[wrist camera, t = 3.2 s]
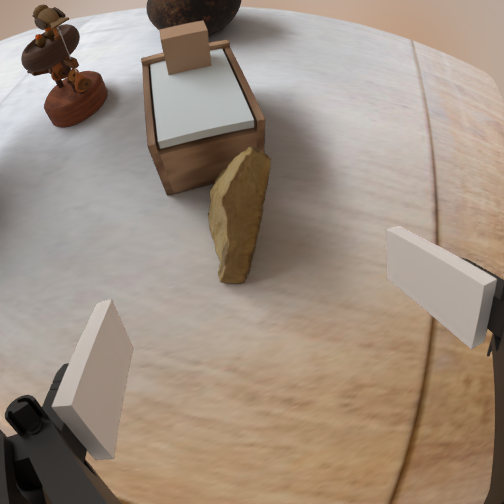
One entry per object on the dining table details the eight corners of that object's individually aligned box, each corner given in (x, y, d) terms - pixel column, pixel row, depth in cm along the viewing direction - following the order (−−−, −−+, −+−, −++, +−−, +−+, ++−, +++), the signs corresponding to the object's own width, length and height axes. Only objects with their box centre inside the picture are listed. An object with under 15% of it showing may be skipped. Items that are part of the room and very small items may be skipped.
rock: (266, 301, 27) (313, 204, 30) (195, 253, 22) (260, 142, 24) (197, 275, 35) (238, 199, 38) (136, 236, 30) (187, 153, 32)
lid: (160, 148, 28) (144, 101, 23) (151, 70, 34) (142, 31, 28) (254, 127, 29) (253, 77, 24) (222, 54, 35) (219, 15, 29)
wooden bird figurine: (129, 85, 44) (88, -16, 25) (89, 136, 40) (26, 34, 22) (69, 80, 46) (25, 1, 27) (33, 125, 43) (-25, 47, 24)
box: (167, 195, 35) (146, 141, 27) (155, 107, 41) (141, 58, 33) (263, 172, 36) (265, 114, 28) (231, 90, 42) (227, 39, 34)
